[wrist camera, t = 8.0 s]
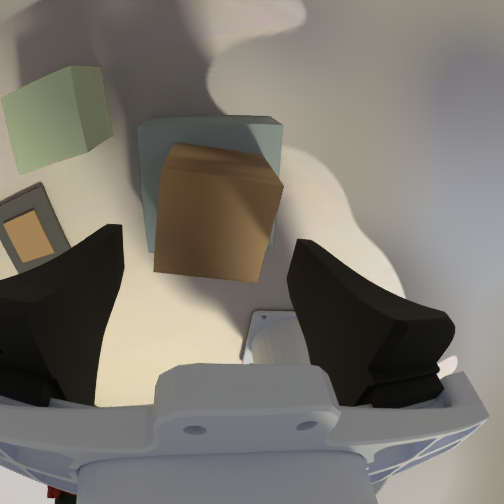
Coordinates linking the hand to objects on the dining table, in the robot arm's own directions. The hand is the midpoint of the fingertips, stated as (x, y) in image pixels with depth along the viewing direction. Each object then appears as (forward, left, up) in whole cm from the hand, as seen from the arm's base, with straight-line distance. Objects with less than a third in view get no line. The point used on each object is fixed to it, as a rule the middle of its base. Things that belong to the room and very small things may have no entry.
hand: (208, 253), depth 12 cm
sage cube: (+10, -4, -10) cm, 15 cm away
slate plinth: (0, 0, -10) cm, 10 cm away
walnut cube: (0, 0, -6) cm, 6 cm away
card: (+15, +6, -10) cm, 19 cm away
